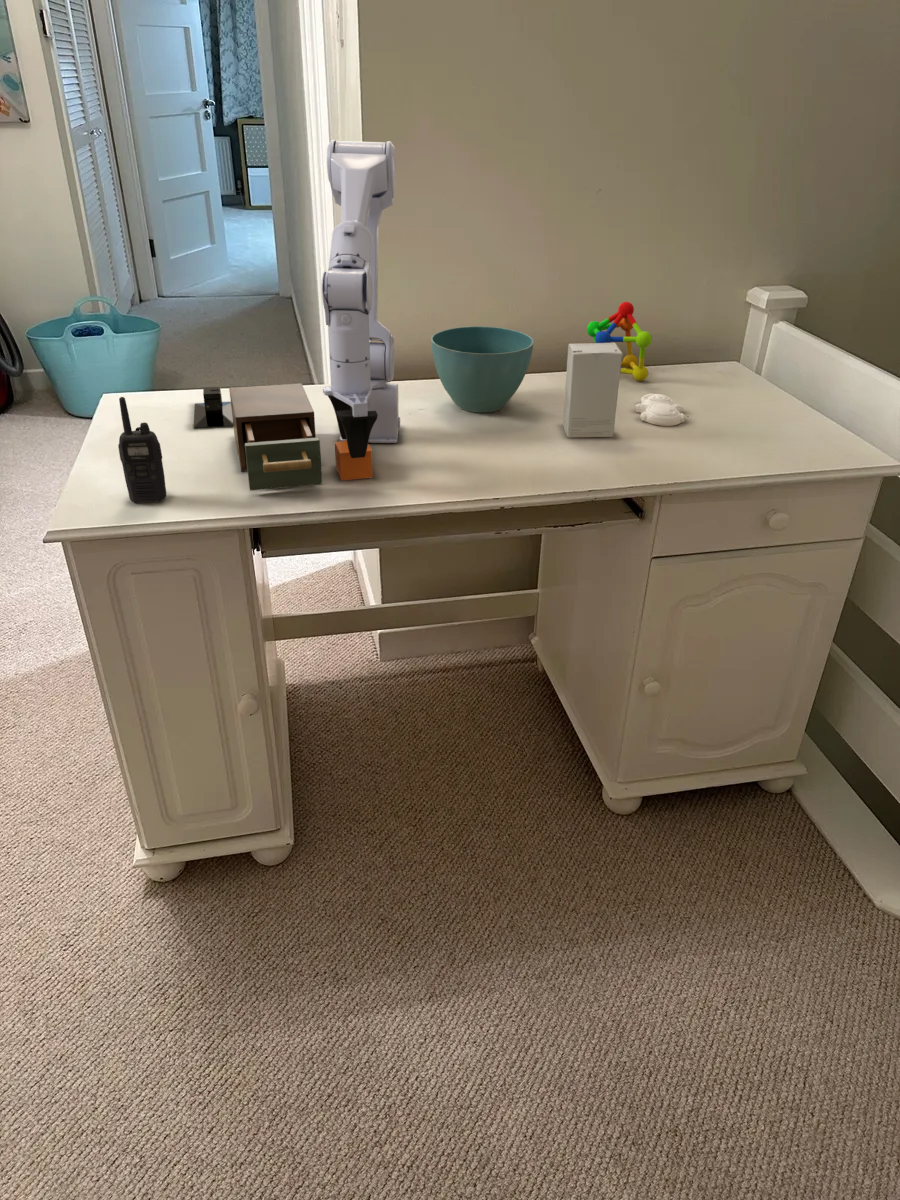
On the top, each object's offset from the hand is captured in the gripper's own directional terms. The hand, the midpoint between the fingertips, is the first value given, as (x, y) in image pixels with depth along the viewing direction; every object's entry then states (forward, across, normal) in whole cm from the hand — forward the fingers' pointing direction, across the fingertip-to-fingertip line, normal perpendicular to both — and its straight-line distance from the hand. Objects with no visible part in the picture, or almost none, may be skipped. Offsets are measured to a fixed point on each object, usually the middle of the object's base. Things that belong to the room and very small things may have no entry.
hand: (353, 447), depth 129 cm
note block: (+4, 0, 0) cm, 4 cm away
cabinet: (+4, -11, -11) cm, 16 cm away
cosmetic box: (+4, -8, +42) cm, 43 cm away
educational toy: (+4, -38, +62) cm, 72 cm away
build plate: (+4, -30, -19) cm, 36 cm away
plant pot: (+4, -26, +28) cm, 38 cm away
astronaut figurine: (+4, -14, +59) cm, 61 cm away
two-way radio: (+4, +2, -30) cm, 30 cm away
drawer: (+3, +1, -11) cm, 11 cm away
